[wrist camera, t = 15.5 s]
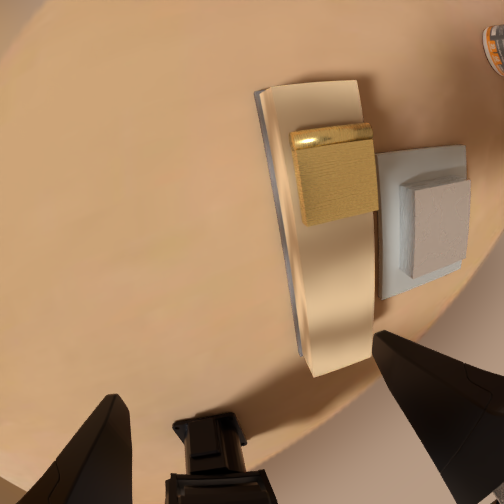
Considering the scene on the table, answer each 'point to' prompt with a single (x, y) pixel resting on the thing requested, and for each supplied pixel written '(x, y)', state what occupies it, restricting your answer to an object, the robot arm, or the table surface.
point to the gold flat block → (334, 172)
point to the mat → (388, 178)
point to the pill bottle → (495, 47)
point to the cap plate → (433, 224)
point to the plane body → (320, 232)
